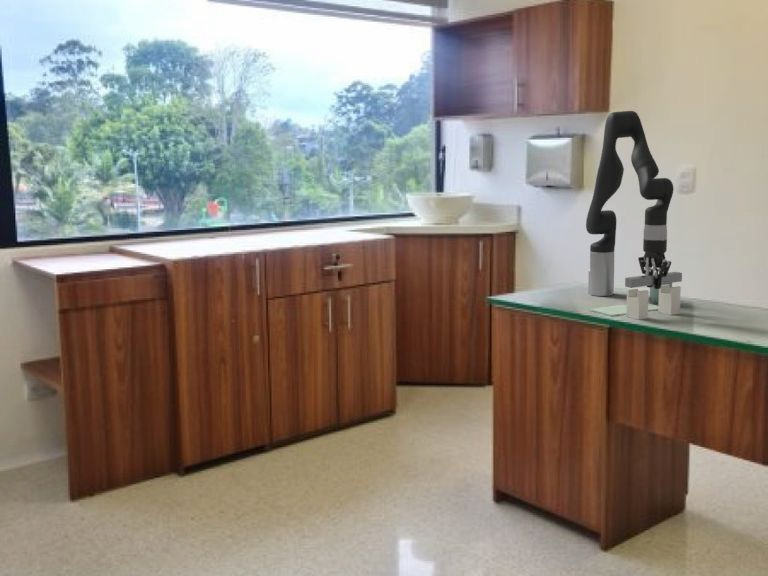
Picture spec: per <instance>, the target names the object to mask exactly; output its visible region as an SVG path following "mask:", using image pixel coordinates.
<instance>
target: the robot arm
mask: <svg viewBox="0 0 768 576" xmlns="http://www.w3.org/2000/svg"><path fill="white" fill-rule="evenodd" d="M622 138H631V139H632V141H633V142H634V143H633V144H634V145H633V149H632V152H631V154H630V155H631V156H630V161H631V165H632V167H633V169H634V171H635V173H636V175H637V178H638V186H639V193H640V196H641V197H642V198H643V199H645V200H648V201H652V200H653V201H654V200H656V202H655V204H654V205H652V206H649V207H647V208H646V209H645V211H644V228H643V239H642V241H643V242H642V243H643V244H642V247H643V248H642V250H643V252H644V255H643V256H641V257H638V263H639V267H640V270H641V274H643V275H653V274H655V279H654V289H660V288H661V279H662V277H666V276H667V273H669V271H670V268H671V265H672V261H671V260H667V259H666V256H665V253H666V252H667V247H668V245H667V244H668V229H667V228H668V226H667V225H668V224H667V221H668V210H669V209H670V208H669V207H670V203H671V201H672V197H673V194H674V185H673V184H674V183H673V182H672V180H671V179H669V178H667V177H659V178H658V177H657V176H658V175H659V173H660V172H659V166H658V165H657V163H656V160H655V158H654V157H653V155H652V153H651V150H650V148H649V145H648V141H647V138H646V133H645V130H644V128H643V124H642V121H641V118H640V116H639V115H638V113H637V112H636V111H634V110H623V111H614V112H613V111H612V112H610V113H609V114H608V115H607V117H606V120H605V124H604V132H603V143H602V151H601V154H600V155H601V156H600V160H599V164H598V165H599V166H598V168H597V169H598V170H597V173H596V178H595V185H594V190H593V195H592V199H591V202H590V206H589V209H588V212H587V215H586V221H585V229H586V231H587V233H588V234H589V235H603V236H602V237H601V239H599V240H597V241H595V242H593V243H591V244H590V246H589V249H590V251H589V258H590V259H589V269H588V281H587V283H588V289H587V290H588V294H590V295H591V296H596V297H597V296H598V297H609V296H613V294H614V293H615V248H616V247H615V246H616V237H617V236H616V235H617V233H616V232H617V215H616V213H615V211H613V210H612V209H611V210H610V209H609V210H608V209H607V210H603V208H604V206H605V204H606V203H607V202H608V200H610V199H611V198H612V197H613V196H614V194H615V193H616V192H617V191H618V190H619V188H620V186H621V184H622V181H623V176H624V171H625V168H624V165H623V162H622V160H621V158H620V157H619V154H618V152H617V141H618V140H619V139H622ZM650 287H653V285H650V286H646V288H650ZM614 295H615V294H614Z"/></svg>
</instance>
